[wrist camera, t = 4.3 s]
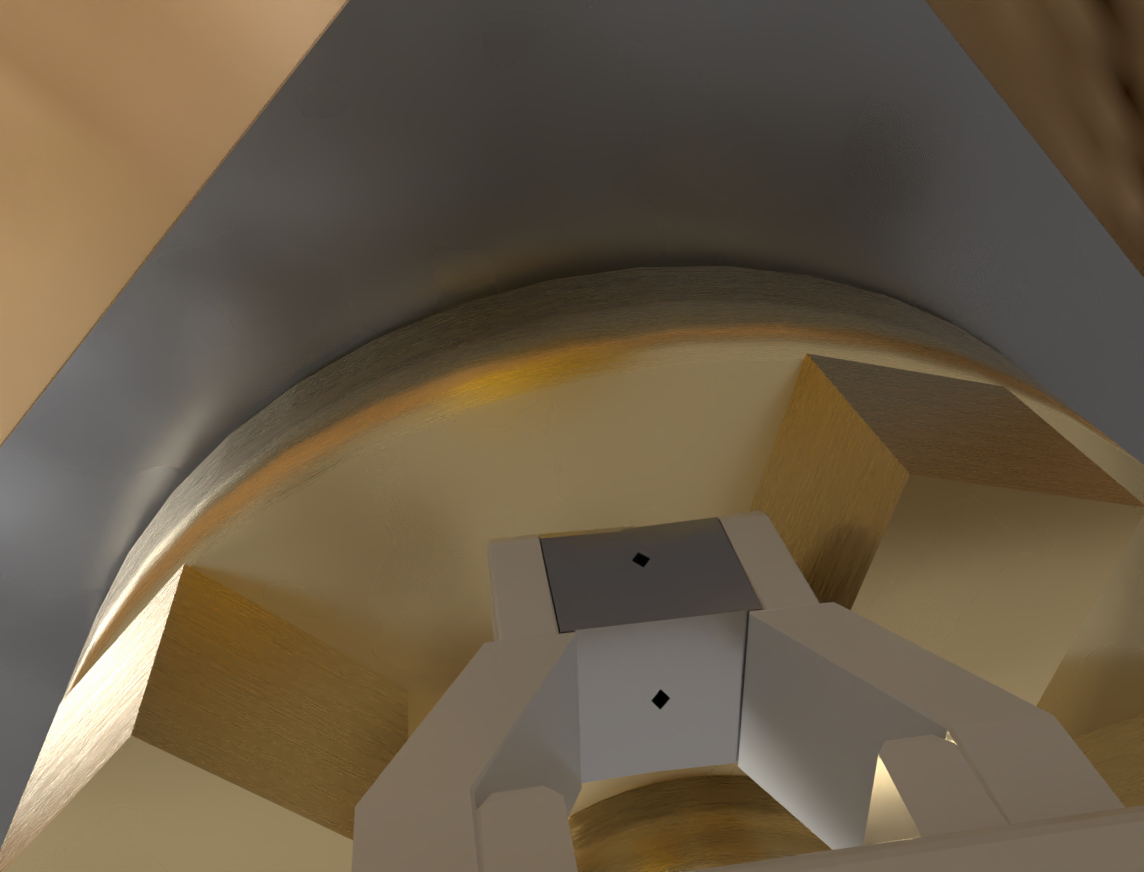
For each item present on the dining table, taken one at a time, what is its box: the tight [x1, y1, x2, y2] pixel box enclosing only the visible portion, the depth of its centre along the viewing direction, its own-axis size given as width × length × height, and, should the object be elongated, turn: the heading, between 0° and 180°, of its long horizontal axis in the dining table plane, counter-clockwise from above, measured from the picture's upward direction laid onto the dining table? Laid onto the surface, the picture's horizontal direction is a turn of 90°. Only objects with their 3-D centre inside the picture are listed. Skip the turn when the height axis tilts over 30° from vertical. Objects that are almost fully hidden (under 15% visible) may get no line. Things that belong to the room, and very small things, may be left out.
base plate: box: [0, 0, 1144, 850], centre depth 18 cm, size 22×22×1 cm
